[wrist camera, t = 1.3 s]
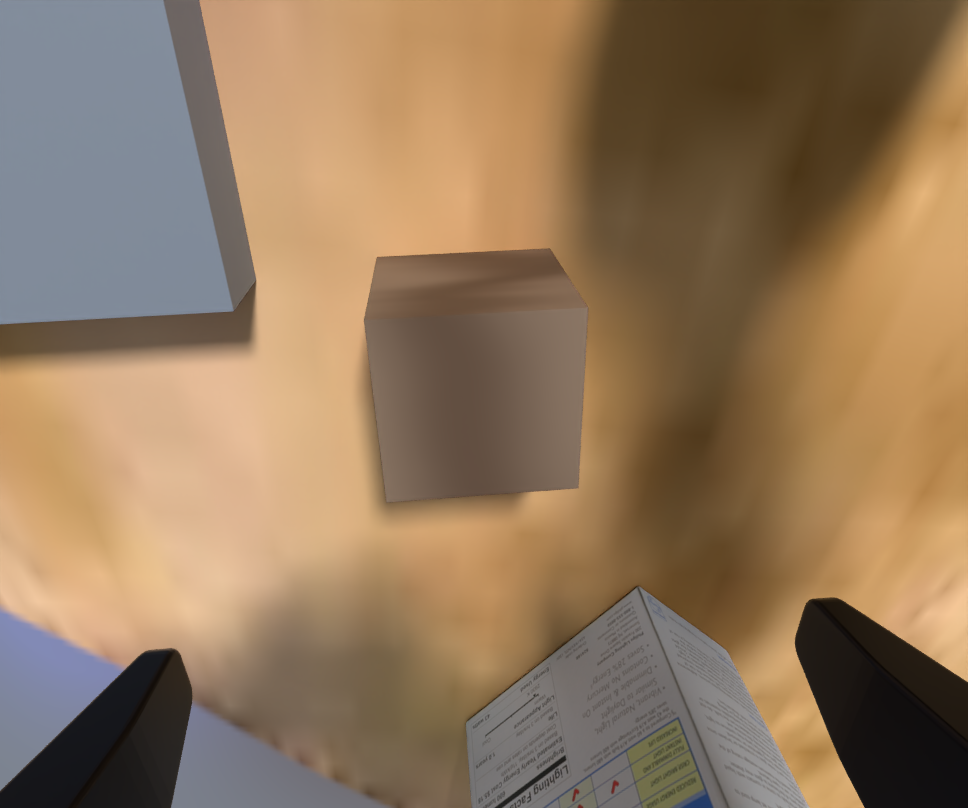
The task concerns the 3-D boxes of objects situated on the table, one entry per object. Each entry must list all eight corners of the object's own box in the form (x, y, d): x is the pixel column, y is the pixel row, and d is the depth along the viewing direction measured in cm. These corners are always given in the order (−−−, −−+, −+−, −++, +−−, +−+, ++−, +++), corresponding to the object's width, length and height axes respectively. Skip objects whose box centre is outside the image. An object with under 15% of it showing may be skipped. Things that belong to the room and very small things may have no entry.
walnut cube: (549, 247, 19) (588, 307, 15) (545, 398, 21) (578, 488, 17) (377, 256, 19) (364, 320, 14) (393, 408, 21) (386, 502, 17)
